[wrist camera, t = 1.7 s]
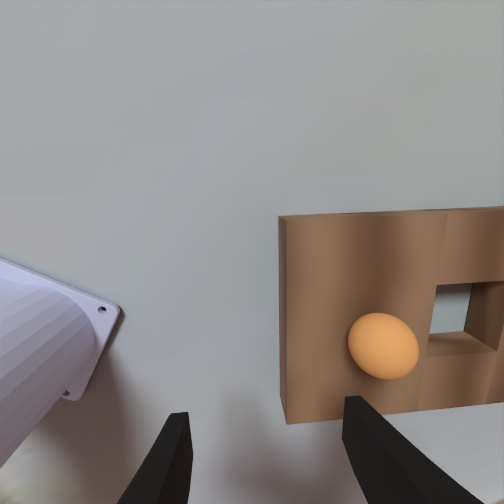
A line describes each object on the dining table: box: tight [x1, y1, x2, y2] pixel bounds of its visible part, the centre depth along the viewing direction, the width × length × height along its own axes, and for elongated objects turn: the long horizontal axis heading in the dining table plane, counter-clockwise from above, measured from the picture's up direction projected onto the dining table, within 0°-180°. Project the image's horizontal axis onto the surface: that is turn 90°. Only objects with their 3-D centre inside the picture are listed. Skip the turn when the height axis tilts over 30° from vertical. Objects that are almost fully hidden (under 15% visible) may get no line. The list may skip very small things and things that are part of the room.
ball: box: [348, 313, 419, 380], centre depth 14 cm, size 4×4×4 cm
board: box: [278, 206, 504, 425], centre depth 17 cm, size 17×14×2 cm
